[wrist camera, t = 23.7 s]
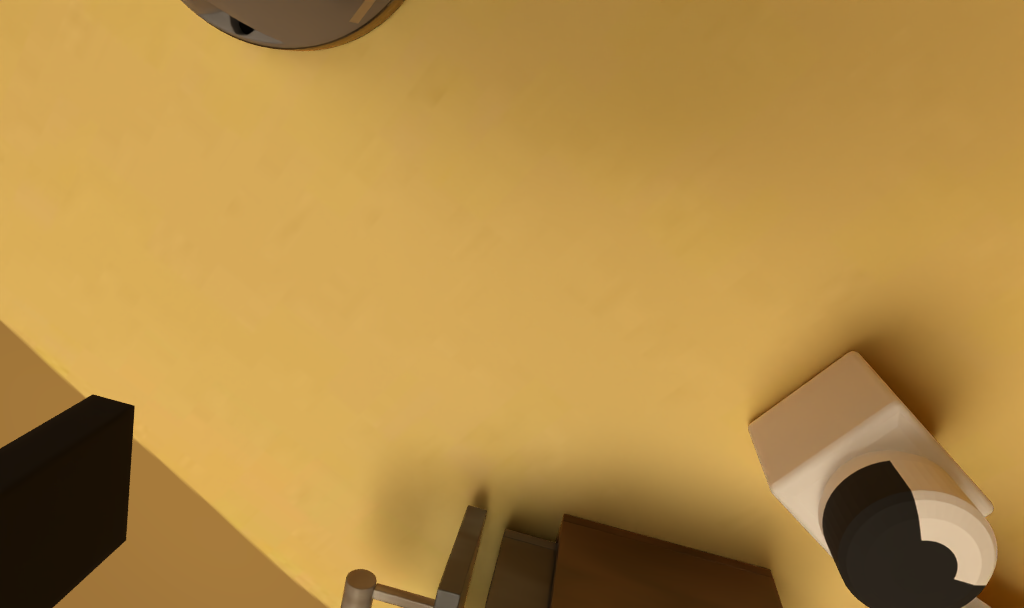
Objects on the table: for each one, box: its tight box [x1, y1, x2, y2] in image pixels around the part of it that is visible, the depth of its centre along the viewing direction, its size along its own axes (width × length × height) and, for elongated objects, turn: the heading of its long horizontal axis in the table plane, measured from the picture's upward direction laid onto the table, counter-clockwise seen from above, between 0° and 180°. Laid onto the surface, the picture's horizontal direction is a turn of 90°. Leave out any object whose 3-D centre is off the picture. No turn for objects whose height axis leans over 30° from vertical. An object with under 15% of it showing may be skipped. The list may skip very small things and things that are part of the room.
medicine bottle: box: [748, 351, 997, 608], centre depth 35 cm, size 7×7×12 cm
